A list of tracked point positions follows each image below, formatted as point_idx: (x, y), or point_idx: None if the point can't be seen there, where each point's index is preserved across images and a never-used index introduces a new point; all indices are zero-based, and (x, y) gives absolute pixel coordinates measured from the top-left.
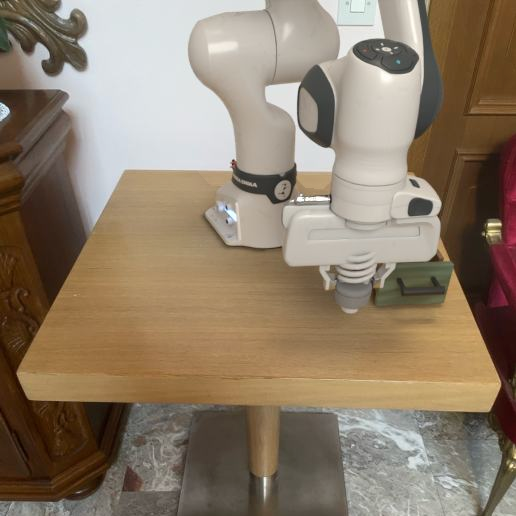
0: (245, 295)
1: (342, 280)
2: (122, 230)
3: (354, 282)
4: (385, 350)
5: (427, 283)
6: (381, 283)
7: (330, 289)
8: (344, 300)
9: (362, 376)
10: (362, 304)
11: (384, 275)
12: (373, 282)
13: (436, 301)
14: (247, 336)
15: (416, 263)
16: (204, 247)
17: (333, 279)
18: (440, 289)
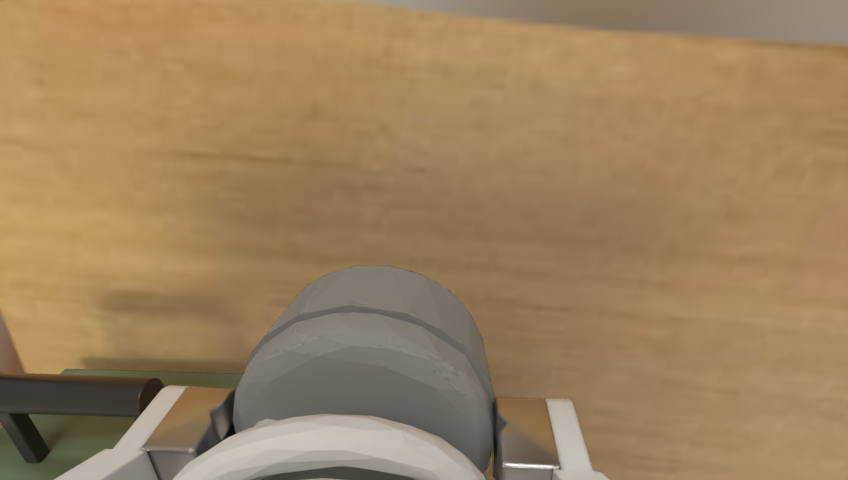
0: (692, 458)
1: (464, 457)
2: None
3: (360, 421)
4: (270, 171)
5: (72, 437)
6: (159, 412)
7: (532, 400)
8: (440, 309)
9: (374, 21)
10: (323, 283)
11: (97, 474)
12: (219, 429)
13: (85, 374)
14: (762, 280)
15: None
16: None
17: (525, 478)
18: None
